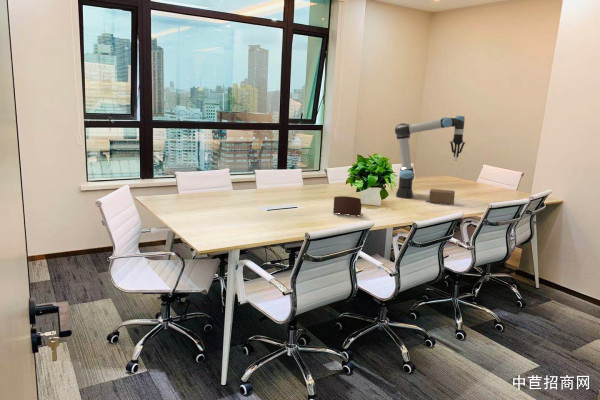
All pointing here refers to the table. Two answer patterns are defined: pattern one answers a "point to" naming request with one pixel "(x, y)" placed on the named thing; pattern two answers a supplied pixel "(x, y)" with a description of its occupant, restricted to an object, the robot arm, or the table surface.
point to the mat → (437, 203)
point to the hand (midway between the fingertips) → (455, 160)
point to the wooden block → (441, 196)
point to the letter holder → (347, 205)
